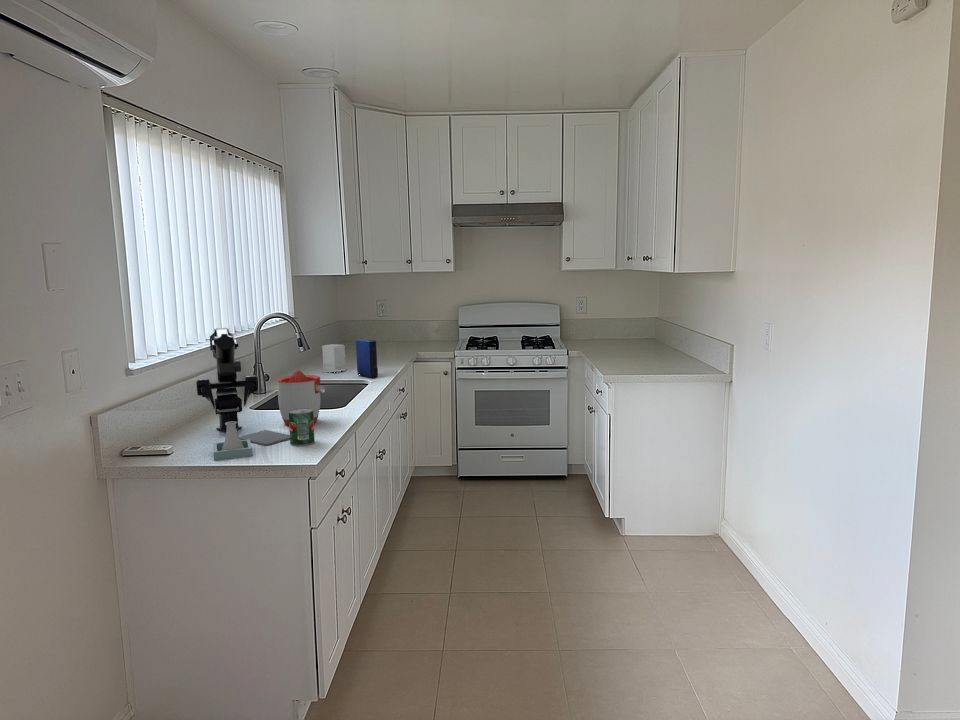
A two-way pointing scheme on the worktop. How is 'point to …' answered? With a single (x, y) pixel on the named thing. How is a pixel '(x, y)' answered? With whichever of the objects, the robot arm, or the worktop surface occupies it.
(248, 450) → the shallow square tray
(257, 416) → the worktop surface
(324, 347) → the supplement box
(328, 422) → the worktop surface
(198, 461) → the worktop surface
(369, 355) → the book
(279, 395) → the citrus juicer
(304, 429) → the canned tomato
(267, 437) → the mat
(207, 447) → the worktop surface
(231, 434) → the flask
